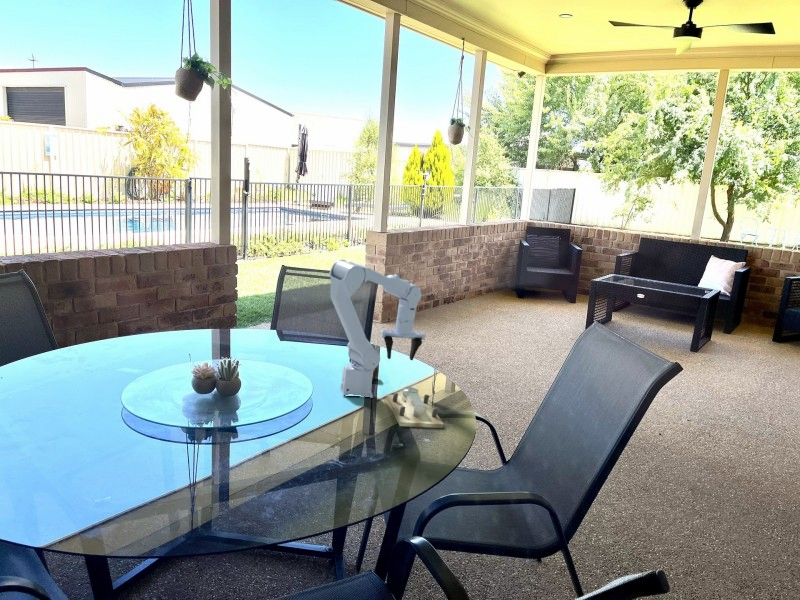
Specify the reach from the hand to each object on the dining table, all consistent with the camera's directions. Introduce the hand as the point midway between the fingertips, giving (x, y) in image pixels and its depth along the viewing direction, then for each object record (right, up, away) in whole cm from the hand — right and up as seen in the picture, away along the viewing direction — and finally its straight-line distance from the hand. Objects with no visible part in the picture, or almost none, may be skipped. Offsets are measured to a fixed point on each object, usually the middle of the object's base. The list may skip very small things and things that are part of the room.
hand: (400, 358), depth 192 cm
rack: (+4, -15, -16) cm, 22 cm away
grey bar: (+4, -13, -14) cm, 20 cm away
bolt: (-14, -6, +13) cm, 20 cm away
